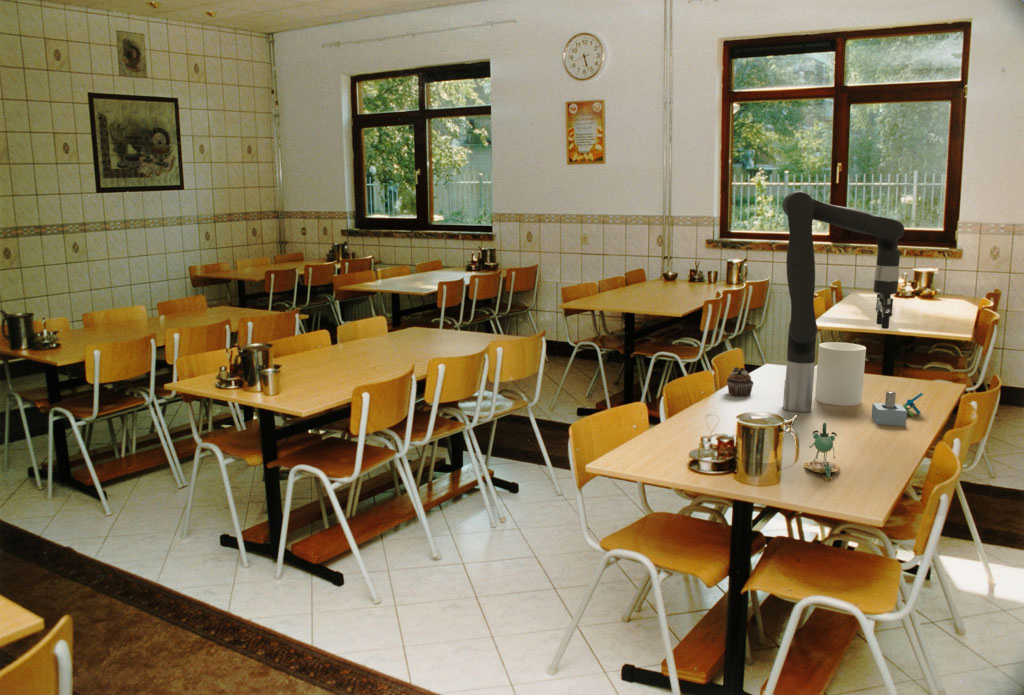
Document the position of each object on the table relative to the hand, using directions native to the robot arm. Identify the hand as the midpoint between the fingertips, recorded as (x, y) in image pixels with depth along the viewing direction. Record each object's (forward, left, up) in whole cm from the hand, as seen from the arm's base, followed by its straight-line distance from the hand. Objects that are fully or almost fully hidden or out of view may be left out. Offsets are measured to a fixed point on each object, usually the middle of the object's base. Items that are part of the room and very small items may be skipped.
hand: (882, 326), depth 302 cm
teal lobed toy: (+11, +1, -30) cm, 32 cm away
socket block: (+2, -12, -30) cm, 32 cm away
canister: (-10, +15, -30) cm, 35 cm away
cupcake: (-45, +16, -30) cm, 57 cm away
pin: (+2, -12, -30) cm, 32 cm away
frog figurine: (-27, -70, -30) cm, 81 cm away
